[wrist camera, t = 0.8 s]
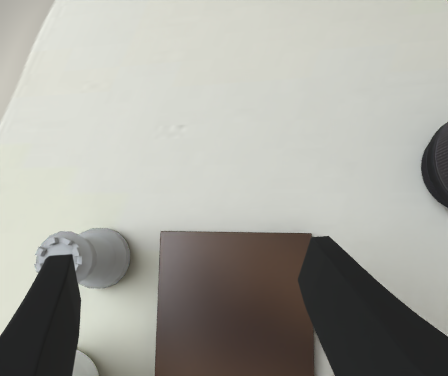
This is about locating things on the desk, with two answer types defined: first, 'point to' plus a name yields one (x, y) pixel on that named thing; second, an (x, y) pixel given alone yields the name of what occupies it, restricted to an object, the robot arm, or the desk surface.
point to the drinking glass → (84, 365)
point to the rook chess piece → (90, 255)
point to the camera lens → (437, 165)
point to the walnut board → (232, 305)
